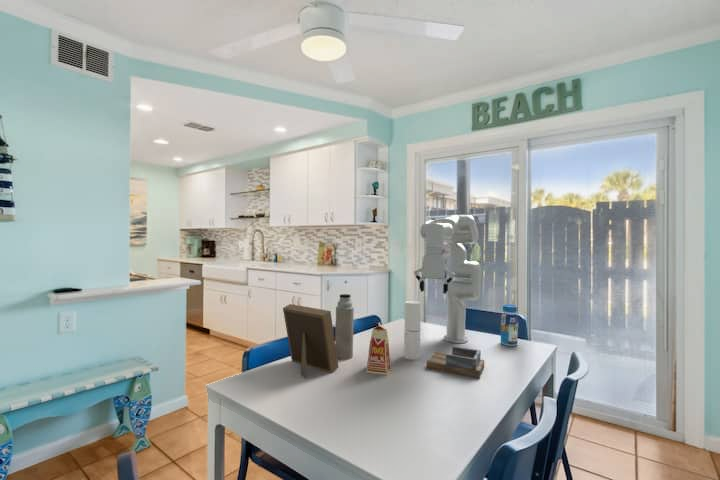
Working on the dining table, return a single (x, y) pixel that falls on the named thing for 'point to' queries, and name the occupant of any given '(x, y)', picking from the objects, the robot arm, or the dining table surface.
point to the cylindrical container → (412, 330)
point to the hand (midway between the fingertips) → (433, 292)
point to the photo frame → (311, 338)
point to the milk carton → (379, 352)
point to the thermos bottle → (344, 328)
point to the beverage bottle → (509, 325)
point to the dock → (458, 362)
